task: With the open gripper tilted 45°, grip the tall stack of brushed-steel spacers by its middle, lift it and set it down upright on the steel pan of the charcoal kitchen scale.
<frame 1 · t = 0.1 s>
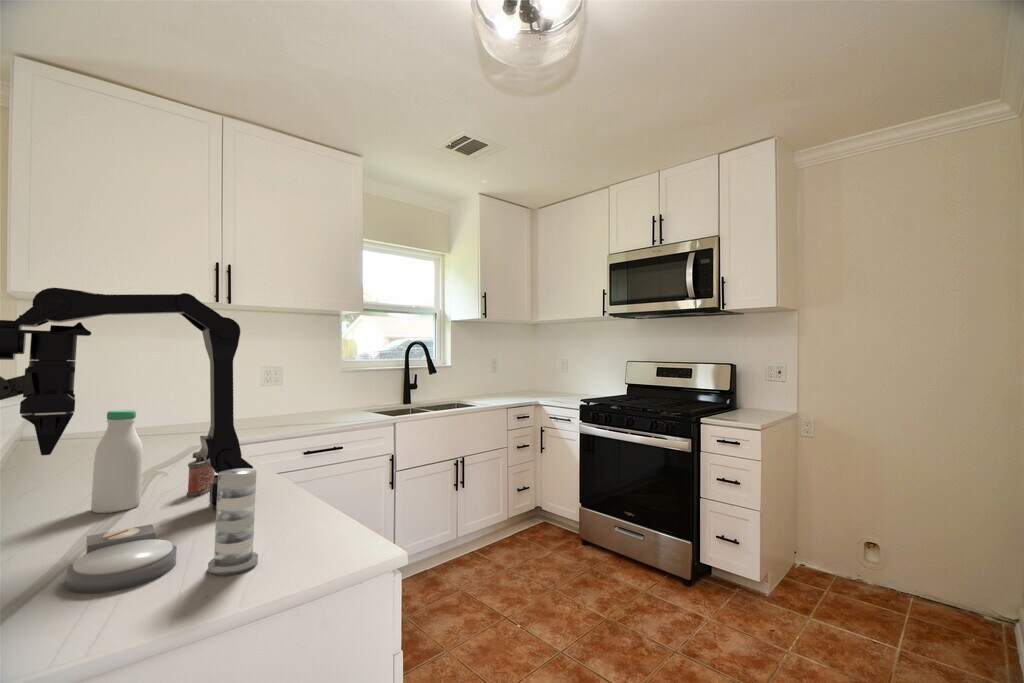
hand: (46, 450, 79), 15 cm above the counter, tool pointing down, fingers open, 9 cm apart
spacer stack: (233, 566, 69), on the counter
kitchen scale: (124, 572, 66), on the counter
milk bottle: (116, 509, 94), on the counter
lighter: (201, 493, 106), on the counter
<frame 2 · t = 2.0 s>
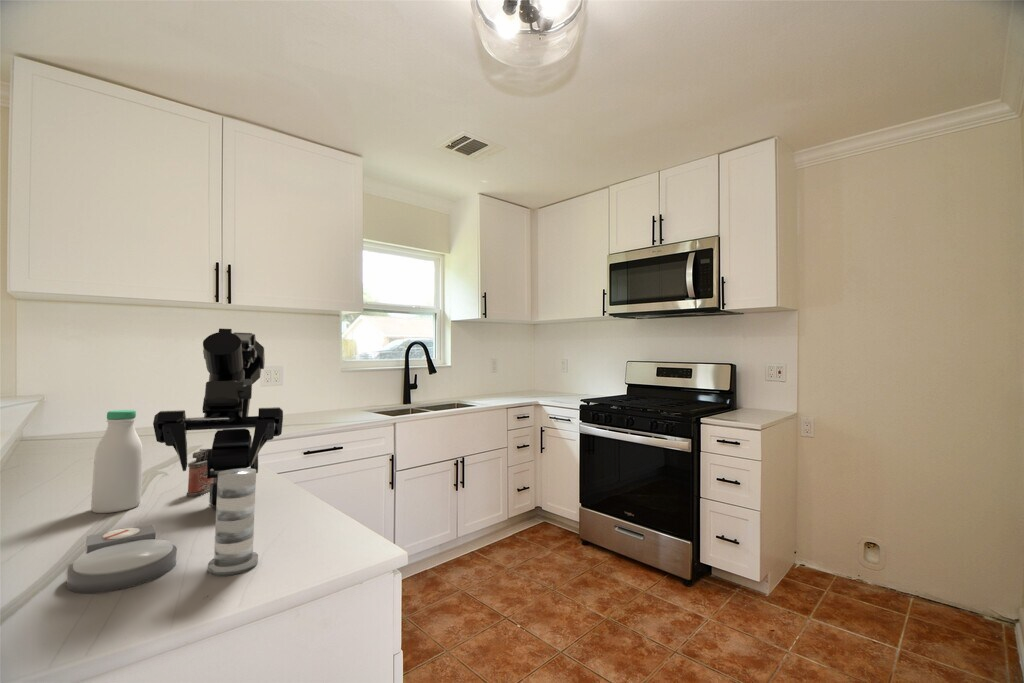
hand: (218, 467, 75), 13 cm above the counter, tool tilted 40°, fingers open, 9 cm apart
nothing on the counter moved.
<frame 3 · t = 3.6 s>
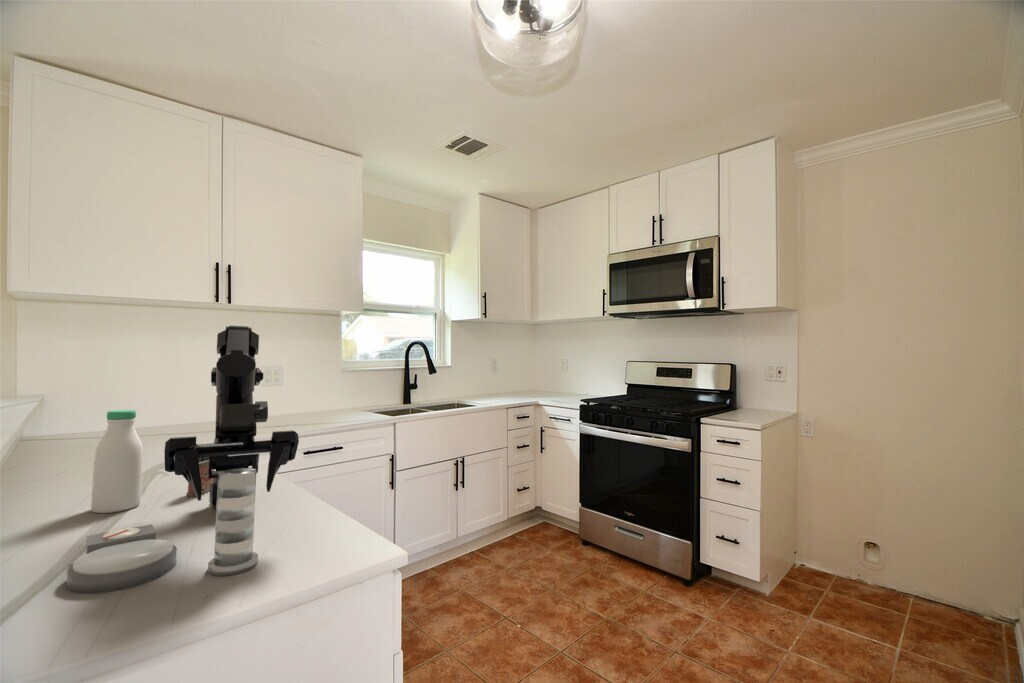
hand: (235, 494, 71), 10 cm above the counter, tool tilted 45°, fingers open, 9 cm apart
nothing on the counter moved.
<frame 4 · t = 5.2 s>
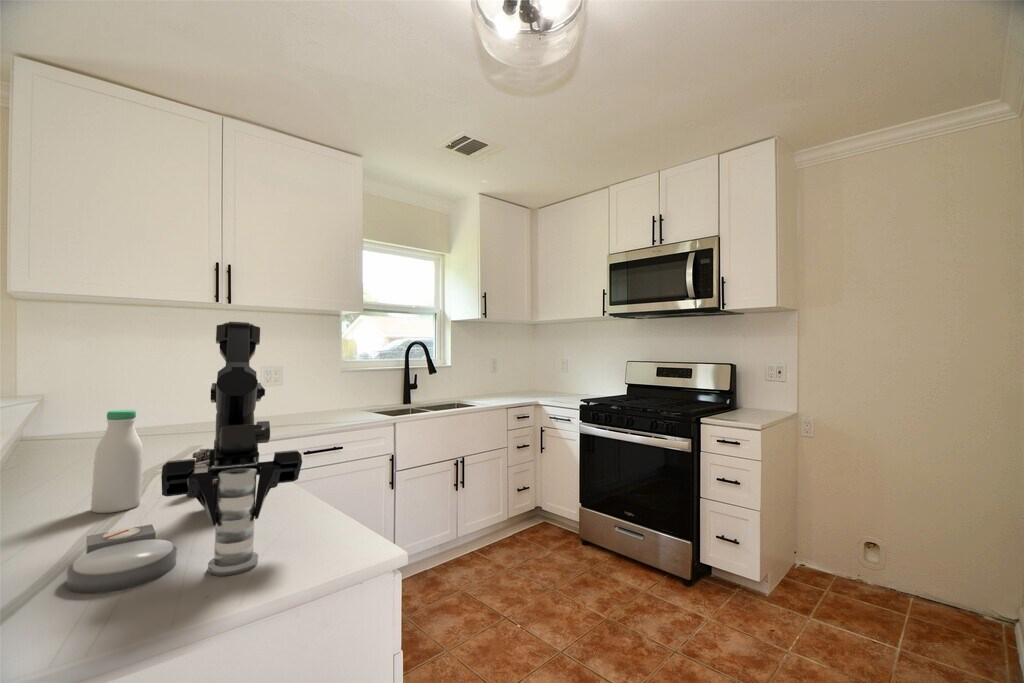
hand: (236, 520, 68), 7 cm above the counter, tool tilted 45°, fingers closed on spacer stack, 5 cm apart
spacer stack: (233, 566, 68), on the counter, touching gripper
everything else where it was.
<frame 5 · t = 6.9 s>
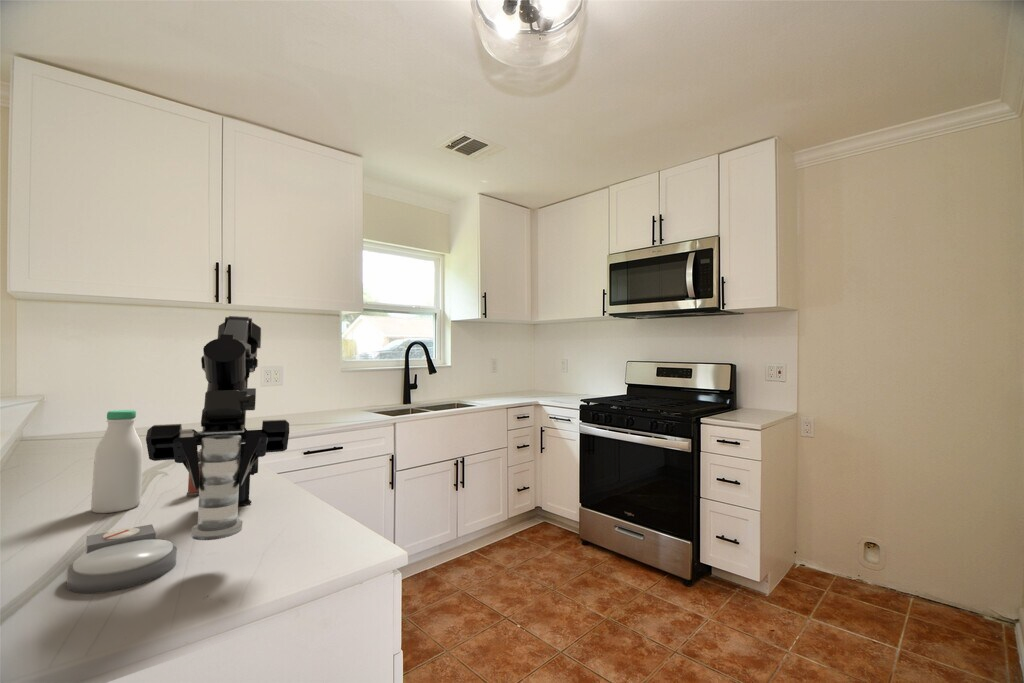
hand: (218, 486, 67), 12 cm above the counter, tool tilted 45°, fingers closed on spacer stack, 5 cm apart
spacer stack: (217, 531, 68), point 5 cm above the counter, touching gripper
everything else where it was.
when the fingers open (11 cm above the counter, at t = 8.7 s): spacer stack stays where it is, resting on kitchen scale.
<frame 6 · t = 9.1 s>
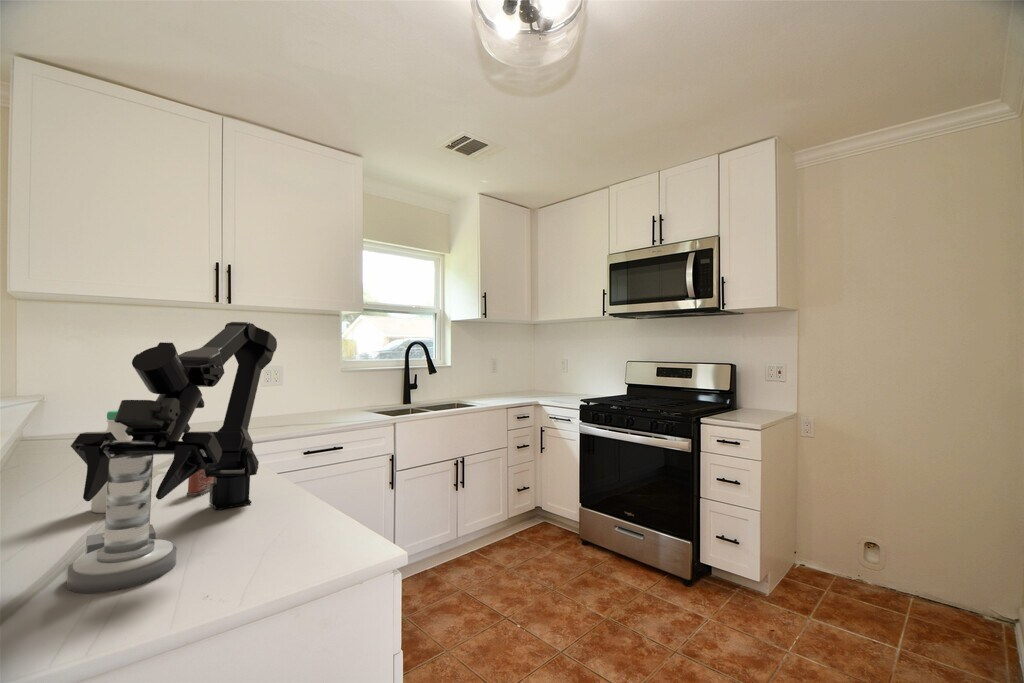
hand: (122, 499, 65), 11 cm above the counter, tool tilted 45°, fingers open, 9 cm apart
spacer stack: (126, 553, 66), point 3 cm above the counter, touching kitchen scale
everything else where it was.
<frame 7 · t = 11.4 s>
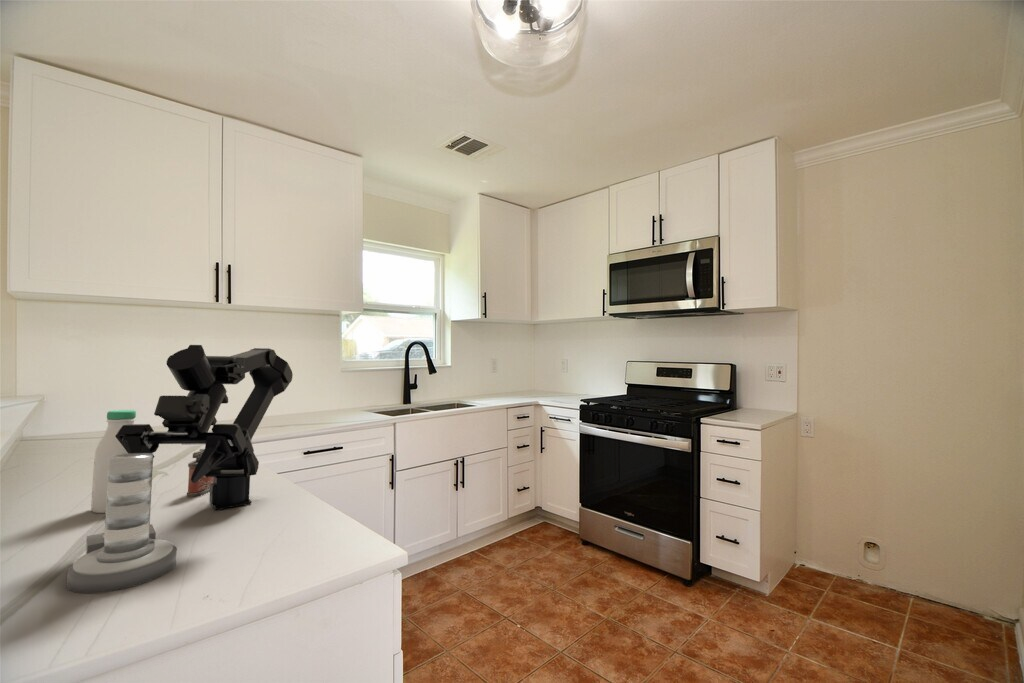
hand: (161, 482, 74), 11 cm above the counter, tool tilted 45°, fingers open, 9 cm apart
nothing on the counter moved.
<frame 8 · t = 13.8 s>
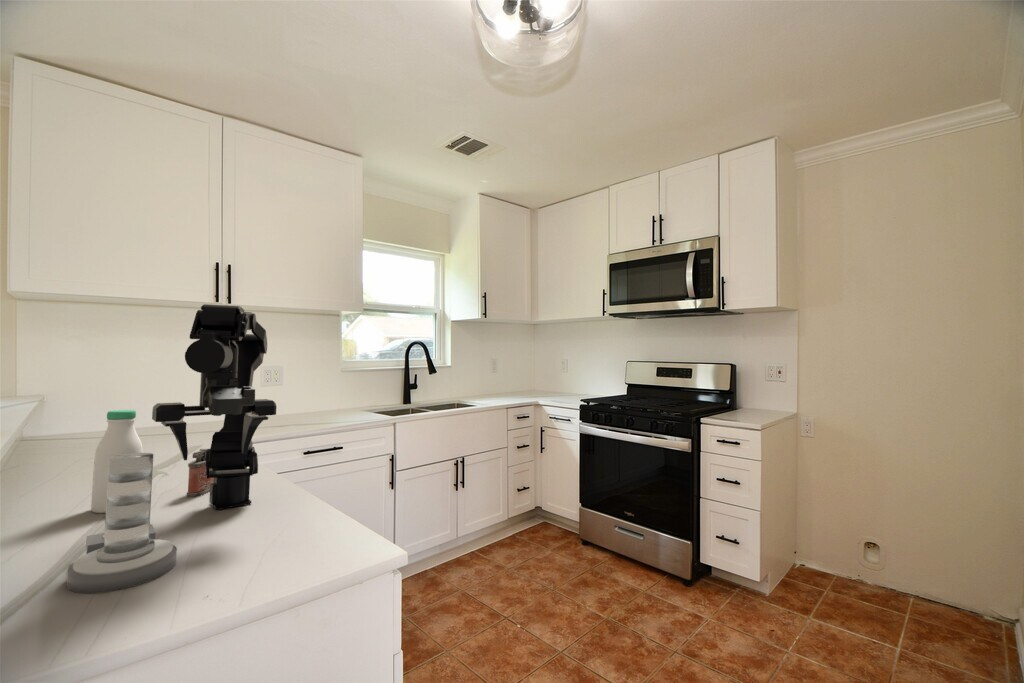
hand: (215, 456, 84), 13 cm above the counter, tool pointing down, fingers open, 9 cm apart
nothing on the counter moved.
at the end: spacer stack 0.1 cm off-centre on the kitchen scale, point 2.6 cm above the kitchen scale's base; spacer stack tilted 0°; the gripper is holding nothing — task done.
